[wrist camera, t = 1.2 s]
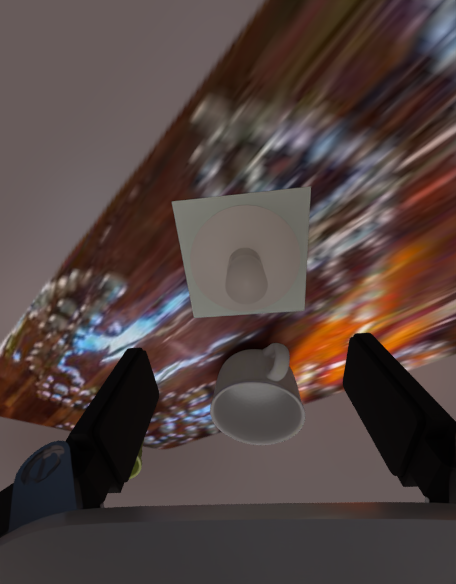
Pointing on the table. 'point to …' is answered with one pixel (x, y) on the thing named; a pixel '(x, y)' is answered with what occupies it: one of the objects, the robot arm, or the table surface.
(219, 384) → the teacup
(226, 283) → the lid
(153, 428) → the table surface
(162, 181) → the table surface
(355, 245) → the table surface
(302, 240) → the mat
